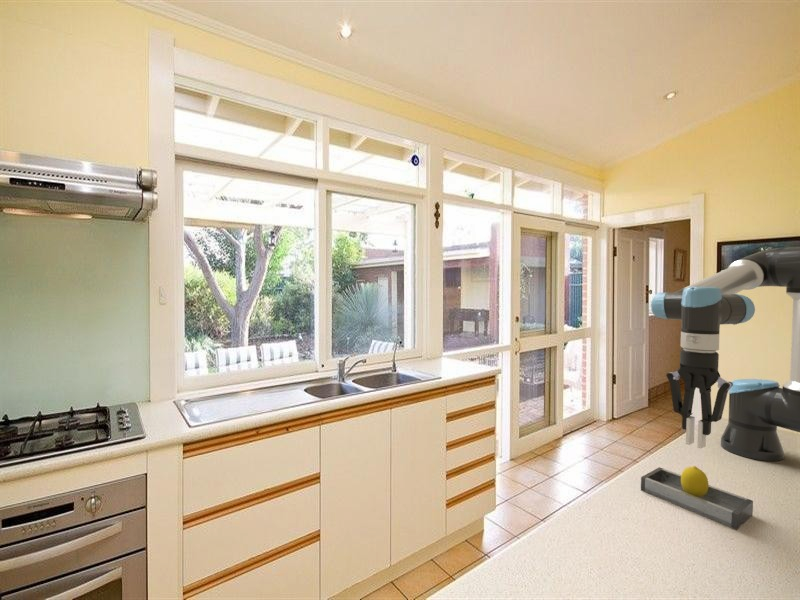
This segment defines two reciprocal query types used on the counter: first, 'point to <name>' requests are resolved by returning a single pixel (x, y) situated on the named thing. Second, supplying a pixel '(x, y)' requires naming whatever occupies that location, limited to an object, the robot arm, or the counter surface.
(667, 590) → the counter surface
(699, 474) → the lemon
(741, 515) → the tray
